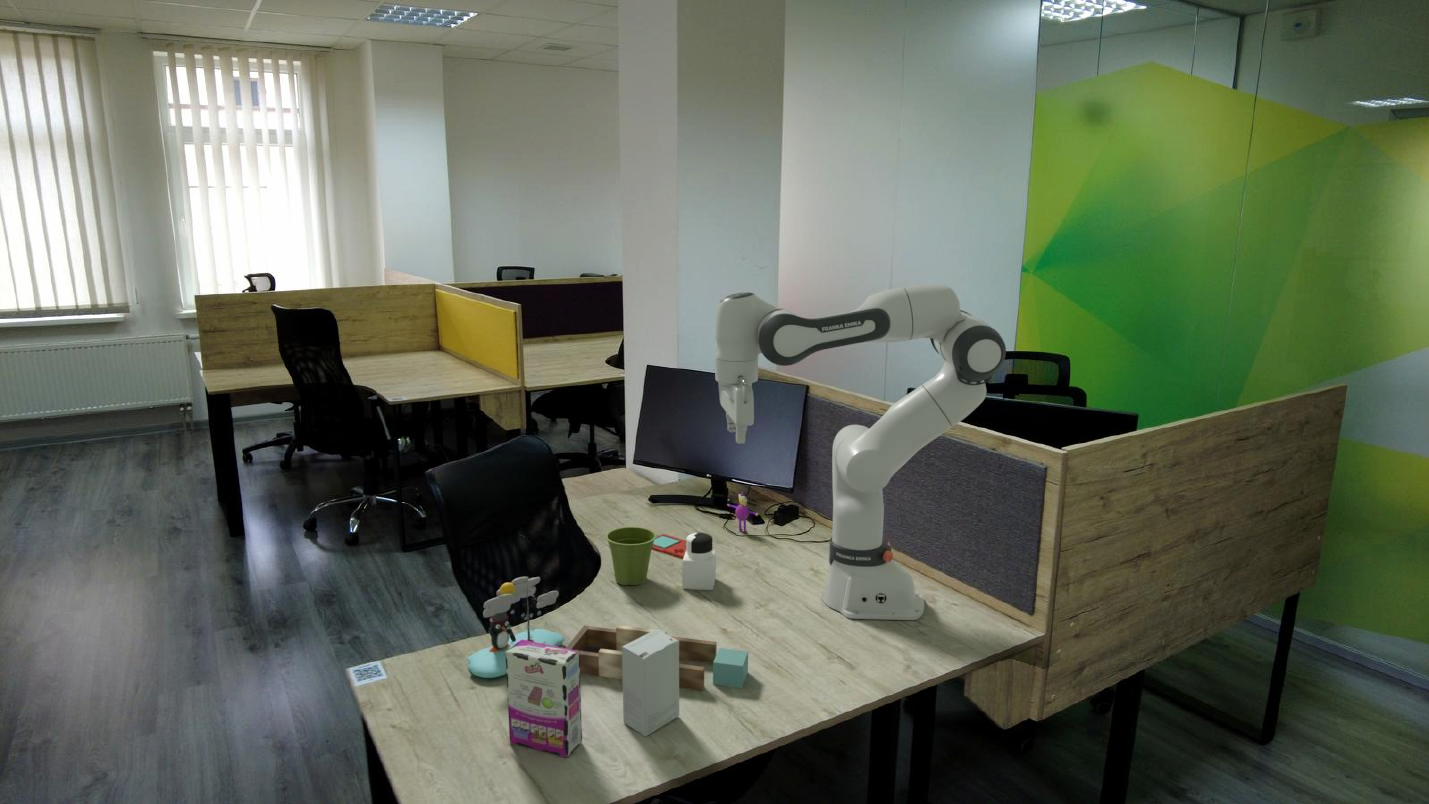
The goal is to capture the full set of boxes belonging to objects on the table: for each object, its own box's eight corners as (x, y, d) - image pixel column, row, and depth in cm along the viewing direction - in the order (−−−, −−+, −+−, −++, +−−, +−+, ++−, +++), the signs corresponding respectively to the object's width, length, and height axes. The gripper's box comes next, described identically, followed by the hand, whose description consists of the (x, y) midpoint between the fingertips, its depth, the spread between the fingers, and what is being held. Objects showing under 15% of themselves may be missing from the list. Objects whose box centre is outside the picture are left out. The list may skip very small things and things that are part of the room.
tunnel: (716, 660, 165) (716, 637, 164) (702, 690, 154) (702, 665, 153) (584, 643, 171) (584, 620, 170) (563, 671, 160) (562, 647, 159)
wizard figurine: (760, 536, 229) (761, 494, 227) (752, 539, 227) (753, 496, 224) (730, 525, 237) (731, 484, 234) (722, 528, 235) (723, 487, 232)
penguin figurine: (484, 688, 154) (480, 611, 151) (455, 666, 162) (450, 592, 159) (574, 650, 168) (572, 578, 165) (544, 631, 176) (541, 563, 173)
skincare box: (657, 704, 150) (656, 626, 147) (681, 718, 146) (681, 638, 143) (621, 724, 144) (619, 644, 141) (645, 739, 140) (644, 656, 137)
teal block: (747, 673, 161) (748, 651, 160) (742, 688, 155) (742, 666, 154) (719, 669, 162) (719, 647, 161) (712, 684, 157) (713, 662, 156)
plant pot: (644, 593, 194) (644, 547, 191) (597, 586, 197) (596, 540, 195) (664, 573, 205) (664, 529, 202) (619, 567, 208) (618, 523, 206)
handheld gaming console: (684, 557, 213) (640, 542, 222) (684, 561, 213) (640, 547, 222) (707, 546, 220) (663, 533, 229) (707, 550, 220) (663, 537, 229)
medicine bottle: (715, 578, 202) (716, 530, 200) (712, 591, 195) (713, 541, 193) (686, 576, 203) (686, 529, 201) (682, 589, 196) (682, 540, 194)
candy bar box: (583, 741, 139) (581, 649, 136) (568, 759, 134) (565, 664, 131) (525, 726, 143) (521, 637, 139) (508, 743, 138) (503, 651, 135)
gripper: (762, 381, 165) (761, 449, 168) (742, 363, 185) (741, 425, 188) (730, 381, 164) (729, 450, 167) (713, 364, 184) (713, 426, 187)
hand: (736, 437), depth 178 cm, fingers open, 8 cm apart
